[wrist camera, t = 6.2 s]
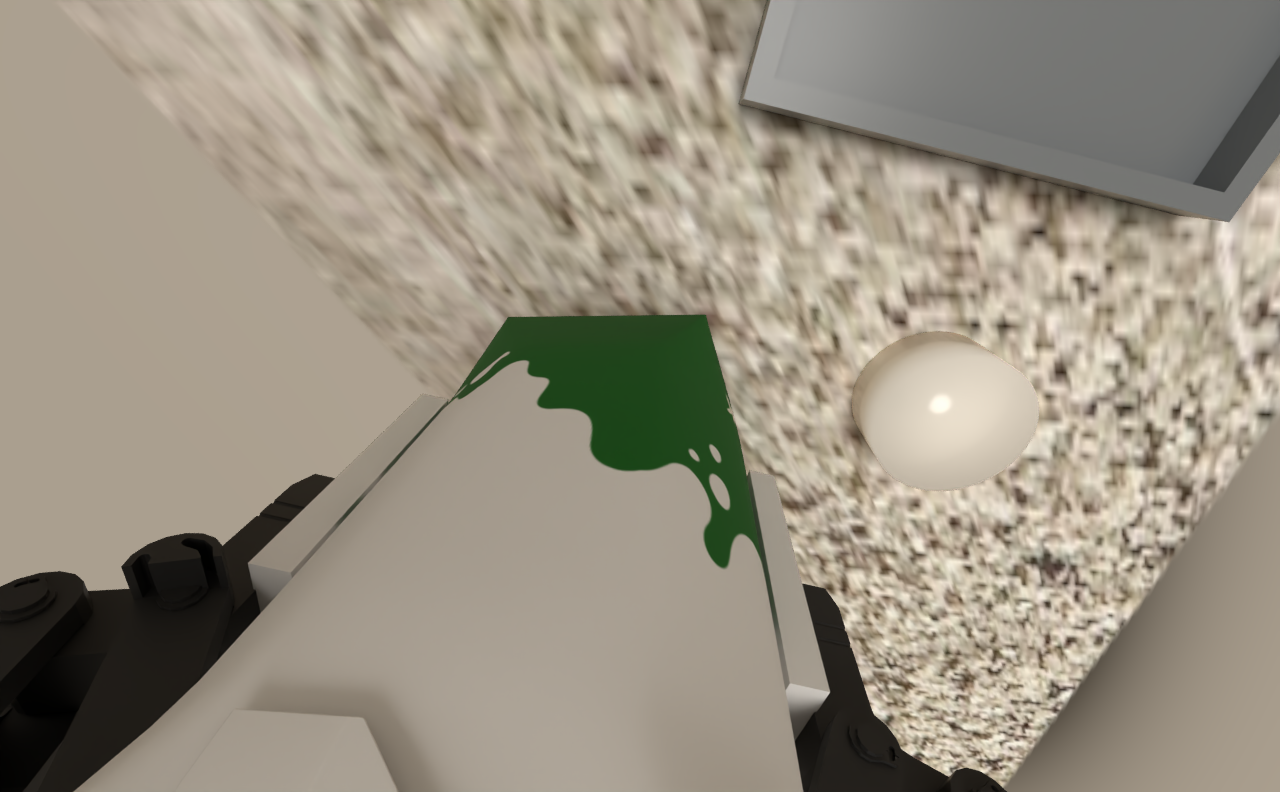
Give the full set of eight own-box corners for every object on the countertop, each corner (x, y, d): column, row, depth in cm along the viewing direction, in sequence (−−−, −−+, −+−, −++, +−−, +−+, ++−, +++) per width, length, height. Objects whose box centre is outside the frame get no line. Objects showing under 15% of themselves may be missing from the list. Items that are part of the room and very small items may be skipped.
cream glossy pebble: (830, 435, 31) (848, 472, 28) (885, 315, 28) (915, 339, 24) (952, 465, 31) (986, 505, 28) (1024, 349, 28) (1073, 378, 24)
